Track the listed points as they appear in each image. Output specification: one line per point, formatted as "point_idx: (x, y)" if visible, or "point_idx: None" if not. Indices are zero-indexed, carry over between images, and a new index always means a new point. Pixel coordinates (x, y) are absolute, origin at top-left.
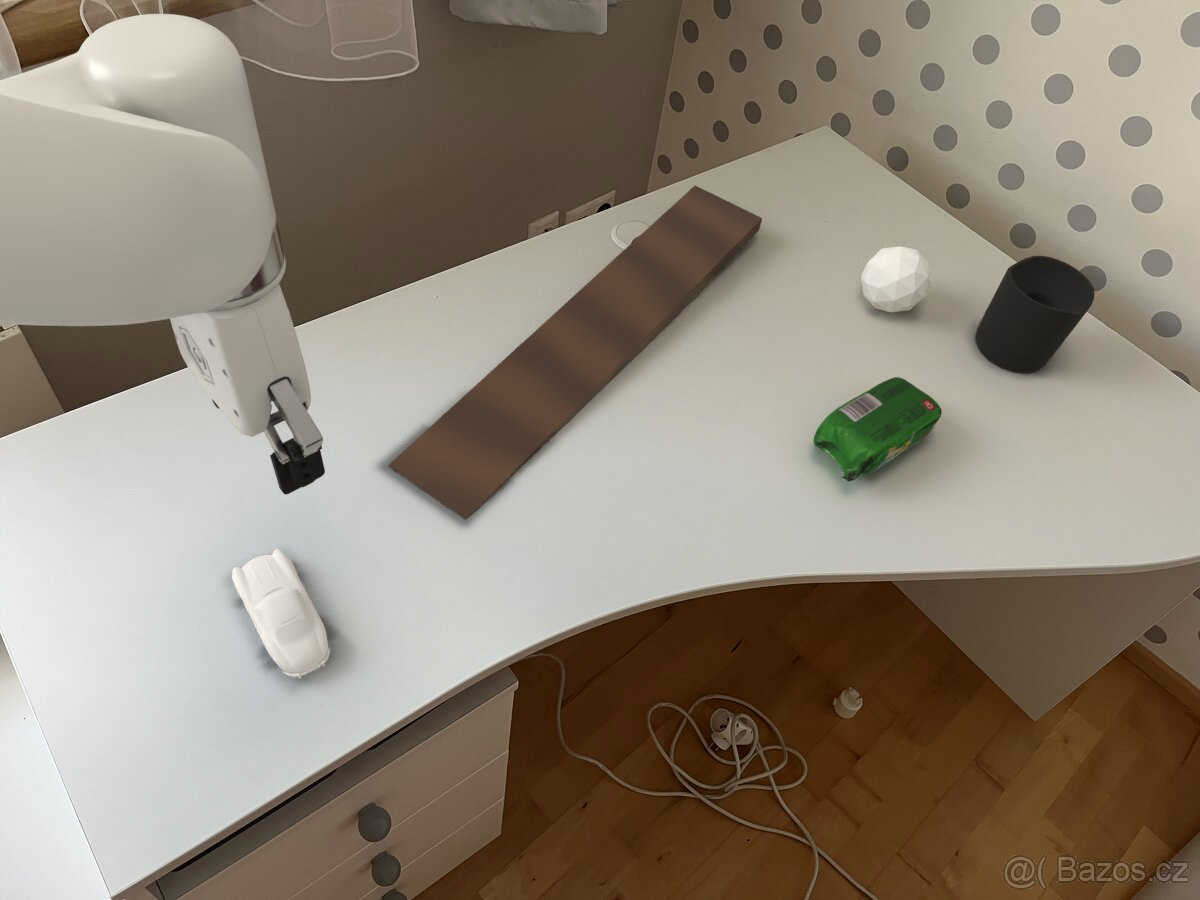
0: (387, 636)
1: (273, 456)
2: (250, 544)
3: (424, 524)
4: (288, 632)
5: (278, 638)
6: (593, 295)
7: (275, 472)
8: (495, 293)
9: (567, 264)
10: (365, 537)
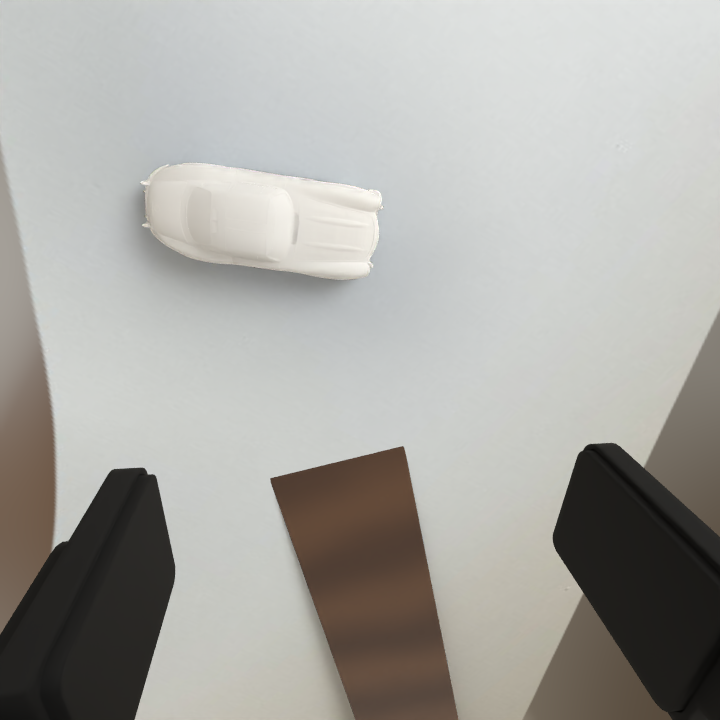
0: (160, 320)
1: (9, 699)
2: (416, 244)
3: (294, 438)
4: (200, 209)
5: (201, 189)
6: (438, 707)
7: (86, 558)
8: (522, 632)
9: (497, 692)
10: (324, 374)
